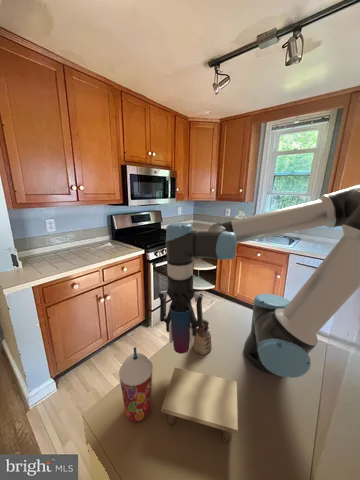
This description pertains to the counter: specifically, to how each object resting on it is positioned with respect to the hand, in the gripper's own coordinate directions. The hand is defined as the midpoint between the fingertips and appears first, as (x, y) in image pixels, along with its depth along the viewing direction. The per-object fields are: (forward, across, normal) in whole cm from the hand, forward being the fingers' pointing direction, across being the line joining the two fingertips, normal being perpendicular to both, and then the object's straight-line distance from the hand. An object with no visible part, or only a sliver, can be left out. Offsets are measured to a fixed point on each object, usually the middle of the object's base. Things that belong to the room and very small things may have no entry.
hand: (181, 341), depth 64 cm
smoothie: (+11, +8, +16) cm, 21 cm away
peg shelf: (+11, -8, +12) cm, 18 cm away
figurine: (+11, -5, -11) cm, 16 cm away
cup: (+2, 0, 0) cm, 2 cm away
